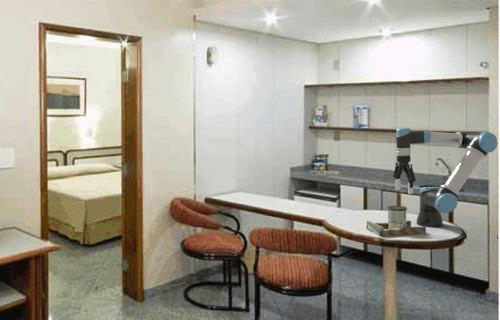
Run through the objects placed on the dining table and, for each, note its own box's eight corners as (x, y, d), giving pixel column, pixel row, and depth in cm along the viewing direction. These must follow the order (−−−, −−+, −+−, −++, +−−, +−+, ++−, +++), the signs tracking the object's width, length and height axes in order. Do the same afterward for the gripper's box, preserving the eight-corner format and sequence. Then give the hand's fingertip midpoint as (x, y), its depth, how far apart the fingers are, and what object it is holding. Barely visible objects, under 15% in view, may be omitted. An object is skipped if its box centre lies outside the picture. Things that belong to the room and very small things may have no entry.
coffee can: (385, 229, 275) (385, 205, 273) (402, 228, 275) (403, 205, 274) (391, 233, 264) (391, 209, 263) (409, 233, 265) (409, 208, 264)
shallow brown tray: (409, 226, 281) (409, 218, 280) (425, 233, 264) (426, 224, 263) (366, 229, 275) (366, 221, 275) (380, 236, 258) (380, 227, 258)
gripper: (386, 153, 277) (387, 189, 279) (409, 157, 253) (410, 195, 255) (398, 153, 279) (398, 187, 281) (421, 156, 254) (422, 194, 256)
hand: (404, 191), depth 268 cm, fingers open, 13 cm apart
